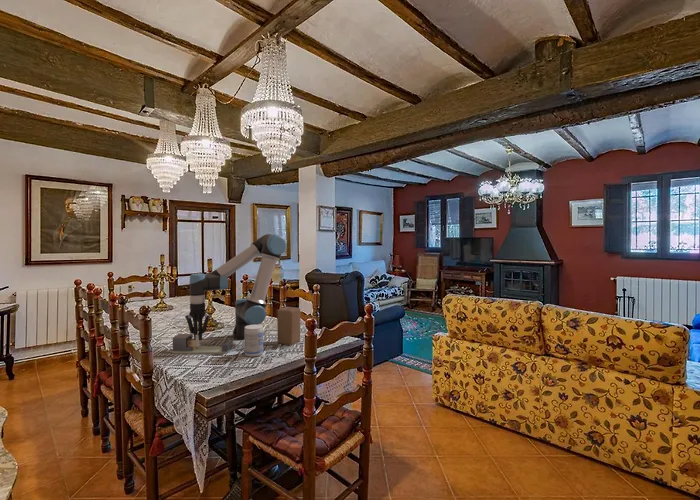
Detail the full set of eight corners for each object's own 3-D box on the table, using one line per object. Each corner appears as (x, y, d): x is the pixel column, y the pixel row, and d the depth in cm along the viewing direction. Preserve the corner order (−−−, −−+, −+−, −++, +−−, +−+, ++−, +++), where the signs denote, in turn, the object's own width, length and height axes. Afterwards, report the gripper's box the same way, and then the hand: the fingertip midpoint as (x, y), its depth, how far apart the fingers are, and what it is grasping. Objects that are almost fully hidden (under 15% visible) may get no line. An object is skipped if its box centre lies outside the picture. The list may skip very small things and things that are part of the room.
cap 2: (232, 346, 197) (232, 339, 197) (227, 351, 190) (227, 344, 189) (226, 346, 197) (226, 339, 197) (221, 351, 190) (221, 344, 189)
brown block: (180, 349, 192) (180, 340, 191) (183, 347, 196) (183, 338, 195) (195, 350, 192) (195, 340, 191) (198, 347, 196) (198, 338, 195)
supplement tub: (263, 356, 186) (262, 328, 185) (243, 357, 184) (243, 329, 183) (263, 350, 195) (263, 323, 194) (245, 351, 193) (244, 324, 192)
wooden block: (300, 341, 212) (300, 307, 211) (291, 346, 203) (291, 311, 201) (286, 338, 216) (286, 306, 215) (276, 343, 207) (276, 309, 206)
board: (230, 348, 198) (230, 346, 198) (225, 353, 189) (225, 352, 189) (180, 347, 198) (180, 345, 198) (172, 353, 189) (172, 351, 189)
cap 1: (197, 346, 197) (197, 334, 197) (191, 351, 190) (191, 338, 189) (179, 346, 197) (179, 333, 197) (172, 350, 190) (172, 337, 189)
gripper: (212, 301, 196) (212, 343, 197) (188, 301, 196) (189, 343, 197) (206, 304, 188) (207, 348, 190) (182, 303, 188) (182, 348, 190)
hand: (198, 345), depth 193 cm, fingers closed
